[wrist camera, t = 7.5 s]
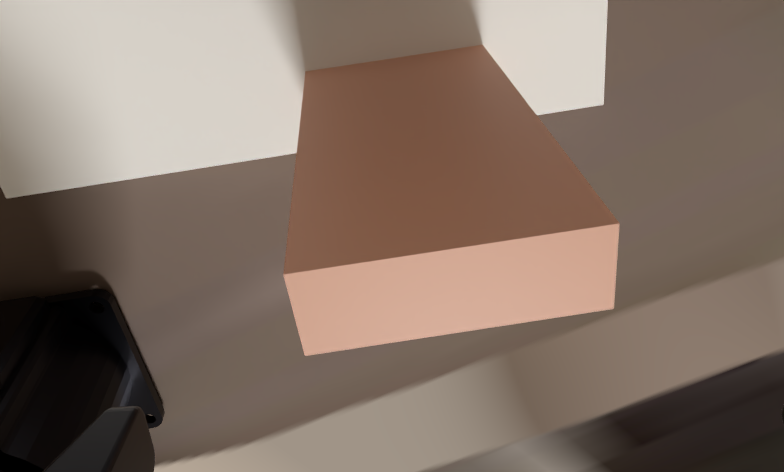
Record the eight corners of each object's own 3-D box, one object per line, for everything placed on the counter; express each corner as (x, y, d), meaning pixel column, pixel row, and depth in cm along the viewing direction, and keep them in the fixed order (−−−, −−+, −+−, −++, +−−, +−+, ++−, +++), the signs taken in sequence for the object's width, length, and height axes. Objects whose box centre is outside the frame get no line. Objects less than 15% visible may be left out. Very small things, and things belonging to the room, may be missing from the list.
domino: (485, 99, 19) (613, 309, 10) (316, 125, 19) (305, 356, 10) (482, 44, 18) (619, 223, 10) (305, 71, 18) (283, 274, 10)
